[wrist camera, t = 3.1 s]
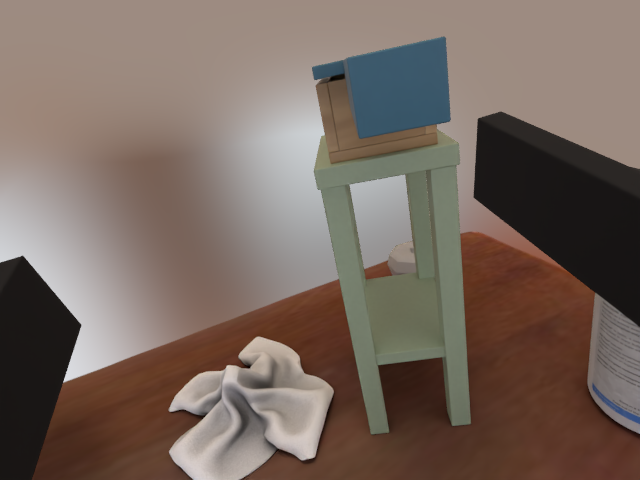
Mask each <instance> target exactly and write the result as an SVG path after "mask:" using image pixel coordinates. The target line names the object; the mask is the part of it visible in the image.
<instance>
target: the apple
mask: <svg viewBox="0 0 640 480" xmlns="http://www.w3.org/2000/svg"><path fill="white" fill-rule="evenodd" d="M432 249H433V247H432ZM433 260H434V258H433ZM388 266H389V269H390V271H391V273H392V275H393V276H395V275H401V274H408V273H415V272H416V265H415V256H414V247H413V241H410V242H407V243H404V244H400V245H397V246H395V248H394V249H393V250H392V252H391V253H390V255H389V259H388ZM434 272H435V269H434Z"/></svg>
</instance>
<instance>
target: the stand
mask: <svg viewBox="0 0 640 480" xmlns="http://www.w3.org/2000/svg"><path fill="white" fill-rule="evenodd" d="M437 137H438V144H435V145H430V146H424V147H419V148H414V149H408V150H403V151H398V152H392V153H387V154H382V155H376V156H371V157H366V158H360V159H355V160H350V161H344V162H339V163H334V164H330V159H329V152H328V148H327V143H326V137H325V136H322V137H321V140H320V145H319V150H318V154H317V158H316V163H315V168H314V174H315V179H316V183H317V189H318V190H321V193H322V198H323V203H324V208H325V212H326V217H327V222H328V227H329V232H330V237H331V242H332V247H333V251H334V256H335V261H336V266H337V271H338V276H339V281H340V286H341V290H342V295H343V300H344V305H345V310H346V315H347V320H348V325H349V329H350V334H351V339H352V344H353V349H354V354H355V359H356V364H357V368H358V373H359V378H360V383H361V388H362V393H363V398H364V403H365V408H366V412H367V417H368V422H369V427H370V432H371V434H380V433H389V427H388V420H387V414H386V408H385V403H384V397H383V391H382V386H381V380H380V374H379V369H378V365H383V364H391V363H399V362H407V361H416V360H424V359H432V358H440V357H442V359H443V370H444V381H445V392H446V404H447V412H448V415H449V419H450V422H451V425H452V426H457V425H467V424H471V418H470V401H469V383H468V365H467V347H466V330H465V312H464V294H463V276H462V259H461V241H460V223H459V208H458V207H459V205H458V188H457V170H456V165H459V164H460V155H459V143H458V142H456V141H455V140H453V139H451V138H450V137H448V136H447V135H445V134H444V133H442V132H441V131H439V130H438V129H437ZM404 174H405V175H406V184H407V193H408V201H409V211H410V220H411V229H412V238H413V247H414V256H415V265H416V272H415V273H408V274H401V275H395V276H388V277H382V278H375V279H368V280H366V278H365V273H364V267H363V261H362V255H361V250H360V244H359V238H358V232H357V227H356V221H355V215H354V209H353V203H352V198H351V192H350V186H349V184H354V183H360V182H365V181H371V180H376V179H382V178H387V177H393V176H399V175H404ZM426 180H427V182H426ZM427 191H428V193H427ZM428 202H429V204H428ZM429 213H430V216H429ZM430 224H431V227H430ZM431 236H432V238H431ZM432 247H433V249H432ZM433 258H434V260H433ZM434 269H435V272H434ZM435 280H436V282H435Z"/></svg>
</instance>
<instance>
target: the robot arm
mask: <svg viewBox="0 0 640 480" xmlns="http://www.w3.org/2000/svg"><path fill="white" fill-rule="evenodd" d="M477 128H478V129H477V145H476V163H475V183H474V198H475V199H476V200H478V201H479V202H480V203H481V204H483V205H484V206H485V207H486V208H488V209H489V210H490V211H491V212H493V213H494V214H495V215H497V216H498V217H499V218H500V219H502V220H503V221H504V222H506V223H507V224H508V225H509V226H511V227H512V228H513V229H515V230H516V231H517V232H519V233H520V234H521V235H522V236H524V237H525V238H526V239H527V240H529V241H530V242H531V243H533V244H534V245H535V246H536V247H538V248H539V249H540V250H541V251H543V252H544V253H545V254H547V255H548V256H549V257H551V258H552V259H553V260H554V261H556V262H557V263H558V264H559V265H561V266H562V267H563V268H564V269H566V270H567V271H568V272H570V273H571V274H572V275H573V276H575V277H576V278H577V279H579V280H580V281H581V282H582V283H584V284H585V285H586V286H588V287H589V288H590V289H591V290H593V291H594V292H595V293H597V294H598V295H599V296H600V297H602V298H603V299H604V300H605V301H607V302H608V303H609V304H611V305H612V306H613V307H614V308H616V309H617V310H618V311H620V312H621V313H622V314H623V315H625V316H626V317H627V318H629V319H630V320H631V321H632V322H634V323H635V324H636V325H638V326H639V327H640V169H637V168H632V167H628V166H626V165H624V164H621V163H619V162H617V161H615V160H612V159H610V158H607V157H605V156H603V155H601V154H598V153H596V152H594V151H591V150H589V149H587V148H584V147H582V146H580V145H578V144H575V143H573V142H570V141H568V140H566V139H564V138H561V137H559V136H557V135H554V134H552V133H550V132H547V131H545V130H543V129H541V128H538V127H536V126H534V125H531V124H529V123H527V122H524V121H522V120H520V119H517V118H515V117H513V116H510V115H508V114H506V113H503V112H498V113H495V114H491V115H488V116H485V117H482V118H479V119H478V126H477ZM80 328H81V324H80V323H79V322H78V321H77V319H76V318H75V317H74V316H73V315H72V313H71V312H70V311H69V310H68V309H67V307H66V306H65V305H64V304H63V303H62V302H61V300H60V299H59V298H58V297H57V296H56V294H55V293H54V292H53V291H52V290H51V289H50V287H49V286H48V285H47V284H46V282H45V281H44V280H43V279H42V278H41V276H40V275H39V274H38V273H37V272H36V271H35V269H34V268H33V267H32V266H31V265H30V264H29V262H28V261H27V260H26V259H25V258H24V257H23V256H21V257H18V258H15V259H11V260H8V261H4V262H1V263H0V480H32V477H33V474H34V471H35V468H36V464H37V461H38V458H39V455H40V452H41V449H42V446H43V443H44V440H45V437H46V433H47V430H48V427H49V424H50V421H51V418H52V415H53V412H54V409H55V405H56V402H57V399H58V396H59V393H60V390H61V387H62V384H63V381H64V378H65V374H66V371H67V368H68V365H69V362H70V359H71V356H72V353H73V350H74V346H75V343H76V340H77V337H78V334H79V331H80Z"/></svg>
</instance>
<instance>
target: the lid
mask: <svg viewBox="0 0 640 480" xmlns="http://www.w3.org/2000/svg"><path fill="white" fill-rule="evenodd" d="M312 71H313V75H314V80H317V79H322V78H327V77H331V76H336V75H341V74H345V79H346V85H347V91H348V98H349V104H350V109H351V113H352V116H353V120H354V123H355V127H356V130H357V134H358V137H359V139H363V138H368V137H373V136H378V135H383V134H389V133H394V132H399V131H404V130H409V129H414V128H420V127H425V126H430V125H435V124H440V123H446V122H449V121H450V120H451V118H450V103H449V102H450V101H449V84H448V68H447V52H446V38H445V37H440V38H435V39H431V40H426V41H422V42H417V43H413V44H408V45H403V46H399V47H394V48H390V49H385V50H380V51H376V52H371V53H367V54H363V55H357V56H353V57H348V58H346V59H345V60H341V61H337V62H332V63H328V64H324V65H318V66H314V67H312Z"/></svg>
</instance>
